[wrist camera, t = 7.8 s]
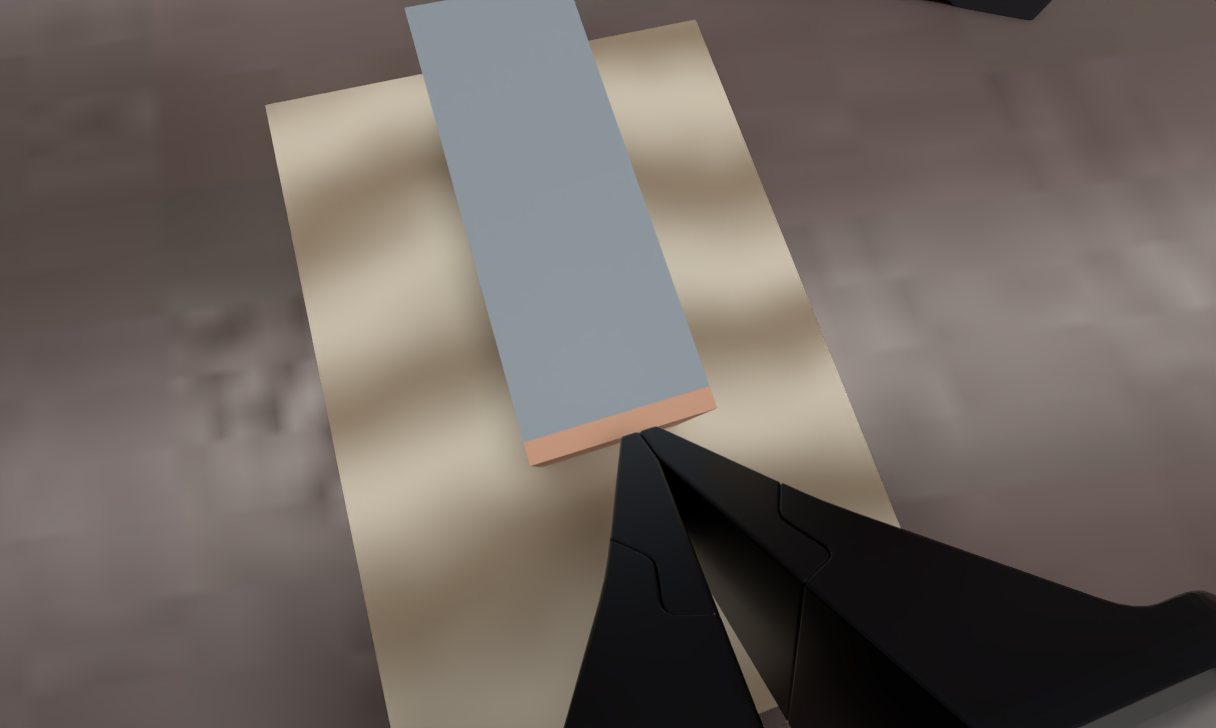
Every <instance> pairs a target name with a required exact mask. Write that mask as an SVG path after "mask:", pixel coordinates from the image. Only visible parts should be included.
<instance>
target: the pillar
mask: <svg viewBox="0 0 1216 728" xmlns="http://www.w3.org/2000/svg"><path fill="white" fill-rule="evenodd" d="M405 11H406V15H407V19H408V22H409V26H410V29H411V33H412V37H413V40H414V44H415V48H416V51H417V55H418V59H419V62H420V66H421V70H422V73H423V77H424V81H425V84H426V88H427V92H428V95H429V99H430V103H431V106H432V110H433V114H434V117H435V121H436V125H437V128H438V132H439V135H440V139H441V143H442V146H443V150H444V154H445V157H446V161H447V165H448V168H449V172H450V176H451V179H452V183H453V187H454V190H455V194H456V198H457V201H458V205H459V209H460V212H461V216H462V220H463V223H464V227H465V231H466V234H467V238H468V242H469V245H470V249H471V252H472V256H473V260H474V263H475V267H476V271H477V274H478V278H479V282H480V285H481V289H482V293H483V296H484V300H485V304H486V307H487V311H488V315H489V318H490V322H491V326H492V329H493V333H494V337H495V340H496V344H497V348H498V351H499V355H500V358H501V362H502V366H503V369H504V373H505V377H506V380H507V384H508V388H509V391H510V395H511V399H512V402H513V406H514V410H515V413H516V417H517V421H518V424H519V428H520V432H521V435H522V439H523V443H524V446H525V450H526V454H527V457H528V461H529V465H530V466H534V467H544V466H548V465H551V464H554V463H557V462H561V461H564V460H567V459H570V458H573V457H577V456H580V455H583V454H586V453H589V452H593V451H596V450H599V449H602V448H605V447H609V446H612V445H615V444H618V443H620V441H621V437H623V436H625V435H629V434H632V433H635V432H638V433H639V434H640V432H641V431H642V430H645V429H648V428H651V427H654V426H657V427H660V428H662V429H666V428H670V427H673V426H676V425H679V424H681V423H683V422H686V421H688V420H690V419H693V418H695V417H697V416H700V415H702V414H704V413H707V412H709V411H711V410H714V409H716V408H717V406H716V403H715V400H714V397H713V394H712V392H711V389H710V386H709V383H708V380H707V377H706V375H705V372H704V369H703V366H702V363H701V360H700V358H699V355H698V352H697V349H696V346H695V343H694V340H693V338H692V335H691V332H690V329H689V326H688V323H687V321H686V318H685V315H684V312H683V309H682V306H681V303H680V301H679V298H678V295H677V292H676V289H675V286H674V284H673V281H672V278H671V275H670V272H669V269H668V267H667V264H666V261H665V258H664V255H663V252H662V249H661V247H660V244H659V241H658V238H657V235H656V232H655V230H654V227H653V224H652V221H651V218H650V215H649V213H648V210H647V207H646V204H645V201H644V198H643V195H642V193H641V190H640V187H639V184H638V181H637V178H636V176H635V173H634V170H633V167H632V164H631V161H630V158H629V156H628V153H627V150H626V147H625V144H624V141H623V139H622V136H621V133H620V130H619V127H618V124H617V122H616V119H615V116H614V113H613V110H612V107H611V104H610V102H609V99H608V96H607V93H606V90H605V87H604V85H603V82H602V79H601V76H600V73H599V70H598V67H597V65H596V62H595V59H594V56H593V53H592V50H591V48H590V45H589V42H588V39H587V36H586V33H585V31H584V28H583V25H582V22H581V19H580V16H579V13H578V11H577V8H576V5H575V2H574V0H445V1H440V2H434V3H429V4H423V5H418V6H412V7H407V8H405Z"/></svg>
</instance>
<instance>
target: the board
mask: <svg viewBox="0 0 1216 728" xmlns="http://www.w3.org/2000/svg"><path fill="white" fill-rule="evenodd" d="M588 42H589V45H590V48H591V50H592V53H593V56H594V59H595V62H596V65H597V67H598V70H599V73H600V76H601V79H602V82H603V85H604V87H605V90H606V93H607V96H608V99H609V102H610V104H611V107H612V110H613V113H614V116H615V119H616V122H617V124H618V127H619V130H620V133H621V136H622V139H623V141H624V144H625V147H626V150H627V153H628V156H629V158H630V161H631V164H632V167H633V170H634V173H635V176H636V178H637V181H638V184H639V187H640V190H641V193H642V195H643V198H644V201H645V204H646V207H647V210H648V213H649V215H650V218H651V221H652V224H653V227H654V230H655V232H656V235H657V238H658V241H659V244H660V247H661V249H662V252H663V255H664V258H665V261H666V264H667V267H668V269H669V272H670V275H671V278H672V281H673V284H674V286H675V289H676V292H677V295H678V298H679V301H680V303H681V306H682V309H683V312H684V315H685V318H686V321H687V323H688V326H689V329H690V332H691V335H692V338H693V340H694V343H695V346H696V349H697V352H698V355H699V358H700V360H701V363H702V366H703V369H704V372H705V375H706V377H707V380H708V383H709V386H710V389H711V392H712V394H713V397H714V400H715V403H716V406H717V408H716V409H714V410H711V411H709V412H707V413H704V414H702V415H700V416H697V417H695V418H693V419H690V420H688V421H686V422H683V423H681V424H679V425H676V426H673V427H670V428H666V429H664V430H667V431H669V432H671V433H673V434H675V435H678V436H680V437H682V438H684V439H686V440H689V441H691V442H693V443H695V444H697V445H700V446H702V447H704V448H706V449H708V450H711V451H713V452H715V453H717V454H719V455H722V456H724V457H726V458H728V459H730V460H733V461H735V462H737V463H739V464H741V465H744V466H746V467H748V468H750V469H752V470H755V471H757V472H759V473H761V474H763V475H766V476H768V477H770V478H772V479H774V480H777V481H779V482H780V485H781V483H785V484H787V485H789V486H791V487H793V488H796V489H798V490H800V491H802V492H805V493H807V494H809V495H812V496H814V497H817V498H819V499H821V500H824V501H826V502H829V503H832V504H834V505H837V506H840V507H842V508H845V509H848V510H850V511H853V512H856V513H859V514H862V515H864V516H867V517H870V518H873V519H876V520H879V521H881V522H884V523H887V524H890V525H893V526H896V527H899V528H900V525H899V523H898V520H897V518H896V515H895V513H894V510H893V508H892V505H891V503H890V500H889V498H888V495H887V493H886V490H885V488H884V486H883V483H882V481H881V478H880V476H879V473H878V471H877V468H876V466H875V463H874V461H873V458H872V456H871V453H870V451H869V448H868V446H867V443H866V441H865V438H864V436H863V433H862V431H861V429H860V426H859V424H858V421H857V419H856V416H855V414H854V411H853V409H852V406H851V404H850V401H849V399H848V396H847V394H846V391H845V389H844V386H843V384H842V381H841V379H840V377H839V374H838V372H837V369H836V367H835V364H834V362H833V359H832V357H831V354H830V352H829V349H828V347H827V344H826V342H825V339H824V337H823V334H822V332H821V329H820V327H819V324H818V322H817V320H816V317H815V315H814V312H813V310H812V307H811V305H810V302H809V300H808V297H807V295H806V292H805V290H804V287H803V285H802V282H801V280H800V277H799V275H798V272H797V270H796V267H795V265H794V263H793V260H792V258H791V255H790V253H789V250H788V248H787V245H786V243H785V240H784V238H783V235H782V233H781V230H780V228H779V225H778V223H777V220H776V218H775V215H774V213H773V211H772V208H771V206H770V203H769V201H768V198H767V196H766V193H765V191H764V188H763V186H762V183H761V181H760V178H759V176H758V173H757V171H756V168H755V166H754V163H753V161H752V158H751V156H750V154H749V151H748V149H747V146H746V144H745V141H744V139H743V136H742V134H741V131H740V129H739V126H738V124H737V121H736V119H735V116H734V114H733V111H732V109H731V106H730V104H729V101H728V99H727V97H726V94H725V92H724V89H723V87H722V84H721V82H720V79H719V77H718V74H717V72H716V69H715V67H714V64H713V62H712V59H711V57H710V54H709V52H708V49H707V47H706V45H705V42H704V40H703V37H702V35H701V32H700V30H699V27H698V25H697V22H696V20H691V21H686V22H681V23H676V24H671V25H666V26H661V27H656V28H651V29H646V30H641V31H636V32H631V33H626V34H621V35H616V36H611V37H606V38H601V39H596V40H591V41H588ZM265 106H266V111H267V116H268V121H269V126H270V131H271V136H272V141H273V146H274V151H275V156H276V161H277V166H278V171H279V176H280V180H281V185H282V190H283V195H284V200H285V205H286V210H287V215H288V220H289V225H290V230H291V235H292V240H293V245H294V250H295V255H296V260H297V265H298V270H299V275H300V280H301V285H302V290H303V295H304V300H305V305H306V310H307V315H308V320H309V325H310V329H311V334H312V339H313V344H314V349H315V354H316V359H317V364H318V369H319V374H320V379H321V384H322V389H323V394H324V399H325V404H326V409H327V414H328V419H329V424H330V429H331V434H332V439H333V444H334V449H335V454H336V459H337V464H338V469H339V474H340V478H341V483H342V488H343V493H344V498H345V503H346V508H347V513H348V518H349V523H350V528H351V533H352V538H353V543H354V548H355V553H356V558H357V563H358V568H359V573H360V578H361V583H362V588H363V593H364V598H365V603H366V608H367V613H368V618H369V623H370V627H371V632H372V637H373V642H374V647H375V652H376V657H377V662H378V667H379V672H380V677H381V682H382V687H383V692H384V697H385V702H386V707H387V712H388V717H389V722H390V727H391V728H564V724H565V720H566V717H567V713H568V710H569V706H570V703H571V699H572V695H573V692H574V688H575V685H576V681H577V677H578V674H579V670H580V667H581V663H582V659H583V656H584V652H585V649H586V645H587V641H588V638H589V634H590V631H591V627H592V624H593V620H594V616H595V613H596V609H597V606H598V602H599V598H600V593H601V589H602V585H603V581H604V575H605V569H606V562H607V555H608V547H609V542H610V532H611V523H612V514H613V505H614V496H615V486H616V477H617V468H618V459H619V450H620V443H618V444H615V445H612V446H609V447H605V448H602V449H599V450H596V451H593V452H589V453H586V454H583V455H580V456H577V457H573V458H570V459H567V460H564V461H561V462H557V463H554V464H551V465H548V466H544V467H534V466H530V465H529V461H528V457H527V454H526V450H525V446H524V443H523V439H522V435H521V432H520V428H519V424H518V421H517V417H516V413H515V410H514V406H513V402H512V399H511V395H510V391H509V388H508V384H507V380H506V377H505V373H504V369H503V366H502V362H501V358H500V355H499V351H498V348H497V344H496V340H495V337H494V333H493V329H492V326H491V322H490V318H489V315H488V311H487V307H486V304H485V300H484V296H483V293H482V289H481V285H480V282H479V278H478V274H477V271H476V267H475V263H474V260H473V256H472V252H471V249H470V245H469V242H468V238H467V234H466V231H465V227H464V223H463V220H462V216H461V212H460V209H459V205H458V201H457V198H456V194H455V190H454V187H453V183H452V179H451V176H450V172H449V168H448V165H447V161H446V157H445V154H444V150H443V146H442V143H441V139H440V135H439V132H438V128H437V125H436V121H435V117H434V114H433V110H432V106H431V103H430V99H429V95H428V92H427V88H426V84H425V81H424V77H423V74H420V75H415V76H410V77H405V78H400V79H395V80H390V81H385V82H380V83H375V84H369V85H364V86H359V87H354V88H349V89H344V90H339V91H334V92H329V93H324V94H319V95H314V96H309V97H304V98H299V99H294V100H289V101H284V102H279V103H274V104H269V105H265ZM712 596H713V595H712ZM713 599H714V597H713ZM714 601H715V604H716V607H717V609H718V612H719V614H720V617H721V619H722V622H723V624H724V627H725V629H726V632H727V634H728V637H729V639H730V642H731V645H732V647H733V650H734V652H735V655H736V657H737V660H738V663H739V665H740V668H741V670H742V673H743V675H744V678H745V680H746V683H747V686H748V688H749V691H750V693H751V696H752V698H753V701H754V704H755V706H756V709H757V711H758V714H760V713H762V712H765V711H767V710H770V709H772V708H775V707H777V706H778V705H777V703H776V701H775V700H774V698H773V696H772V695H771V693H770V691H769V690H768V688H767V686H766V685H765V683H764V681H763V679H762V678H761V676H760V674H759V673H758V671H757V669H756V668H755V666H754V664H753V663H752V661H751V659H750V658H749V656H748V654H747V653H746V651H745V649H744V648H743V646H742V644H741V642H740V641H739V639H738V637H737V636H736V634H735V632H734V631H733V629H732V627H731V626H730V624H729V622H728V621H727V619H726V617H725V616H724V614H723V612H722V610H721V609H720V607H719V605H718V604H717V602H716V600H715V599H714Z"/></svg>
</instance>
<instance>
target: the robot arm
mask: <svg viewBox="0 0 1216 728" xmlns="http://www.w3.org/2000/svg"><path fill="white" fill-rule="evenodd" d="M712 595H713V596H712ZM713 597H714V599H715V600H716V602H717V604H718V605H719V607H720V609H721V610H722V612H723V614H724V616H725V617H726V619H727V621H728V622H729V624H730V626H731V627H732V629H733V631H734V632H735V634H736V636H737V637H738V639H739V641H740V642H741V644H742V646H743V648H744V649H745V651H746V653H747V654H748V656H749V658H750V659H751V661H752V663H753V664H754V666H755V668H756V669H757V671H758V673H759V674H760V676H761V678H762V679H763V681H764V683H765V685H766V686H767V688H768V690H769V691H770V693H771V695H772V696H773V698H774V700H775V701H776V703H777V705H778V706H779V708H780V710H781V711H782V713H783V715H784V716H785V718H786V719H787V720H788V723H789V725H790V727H791V728H1216V595H1214V594H1212V593H1209V592H1206V591H1201V590H1198V591H1190V592H1185V593H1183V594H1180V595H1177V596H1175V597H1172V598H1170V599H1168V600H1165V601H1163V602H1160V603H1158V604H1154V605H1149V606H1131V605H1124V604H1118V603H1114V602H1111V601H1107V600H1104V599H1101V598H1098V597H1095V596H1092V595H1089V594H1086V593H1083V592H1081V591H1078V590H1075V589H1072V588H1069V587H1066V586H1064V585H1061V584H1058V583H1055V582H1052V581H1049V580H1046V579H1044V578H1041V577H1038V576H1035V575H1032V574H1029V573H1027V572H1024V571H1021V570H1018V569H1015V568H1012V567H1009V566H1007V565H1004V564H1001V563H998V562H995V561H992V560H990V559H987V558H984V557H981V556H978V555H975V554H973V553H970V552H967V551H964V550H961V549H958V548H955V547H953V546H950V545H947V544H944V543H941V542H938V541H936V540H933V539H930V538H927V537H924V536H921V535H918V534H916V533H913V532H910V531H907V530H904V529H901V528H899V527H896V526H893V525H890V524H887V523H884V522H881V521H879V520H876V519H873V518H870V517H867V516H864V515H862V514H859V513H856V512H853V511H850V510H848V509H845V508H842V507H840V506H837V505H834V504H832V503H829V502H826V501H824V500H821V499H819V498H817V497H814V496H812V495H809V494H807V493H805V492H802V491H800V490H798V489H796V488H793V487H791V486H789V485H787V484H785V483H781V485H780V482H779V481H777V480H774V479H772V478H770V477H768V476H766V475H763V474H761V473H759V472H757V471H755V470H752V469H750V468H748V467H746V466H744V465H741V464H739V463H737V462H735V461H733V460H730V459H728V458H726V457H724V456H722V455H719V454H717V453H715V452H713V451H711V450H708V449H706V448H704V447H702V446H700V445H697V444H695V443H693V442H691V441H689V440H686V439H684V438H682V437H680V436H678V435H675V434H673V433H671V432H669V431H667V430H664V429H662V428H660V427H657V426H654V427H651V428H648V429H645V430H642V431H641V432H640V434H639V433H638V432H635V433H632V434H629V435H625V436H623V437H621V441H620V450H619V459H618V468H617V477H616V486H615V496H614V505H613V514H612V523H611V532H610V542H609V547H608V555H607V562H606V569H605V575H604V581H603V585H602V589H601V593H600V598H599V602H598V606H597V609H596V613H595V616H594V620H593V624H592V627H591V631H590V634H589V638H588V641H587V645H586V649H585V652H584V656H583V659H582V663H581V667H580V670H579V674H578V677H577V681H576V685H575V688H574V692H573V695H572V699H571V703H570V706H569V710H568V713H567V717H566V720H565V724H564V728H764V727H763V724H762V721H761V719H760V716H759V714H758V711H757V709H756V706H755V704H754V701H753V698H752V696H751V693H750V691H749V688H748V686H747V683H746V680H745V678H744V675H743V673H742V670H741V668H740V665H739V663H738V660H737V657H736V655H735V652H734V650H733V647H732V645H731V642H730V639H729V637H728V634H727V632H726V629H725V627H724V624H723V622H722V619H721V617H720V614H719V612H718V609H717V607H716V604H715V601H714V599H713Z"/></svg>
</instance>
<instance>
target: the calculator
mask: <svg viewBox="0 0 1216 728" xmlns="http://www.w3.org/2000/svg"><path fill="white" fill-rule="evenodd" d="M948 1H949V2H950V3H951V4H952V5H953V6H955V7H959V8H964V9H970V10H975V11H981V12H986V13H991V14H997V15H1002V16H1007V17H1013V18H1018V19H1024V20H1033V19H1034V18H1035V17H1036V16H1037V15H1038V14H1039V13H1040V12H1041V11H1042V10H1043V9H1044V8H1045V7H1046V6H1047V5H1048V4H1049V3H1050V2H1051V1H1052V0H948Z"/></svg>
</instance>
